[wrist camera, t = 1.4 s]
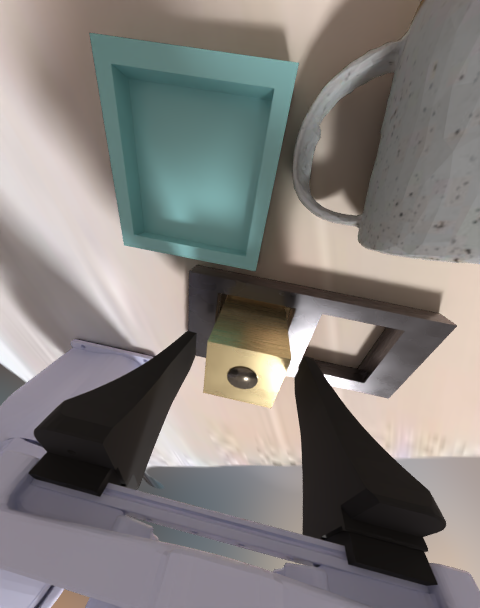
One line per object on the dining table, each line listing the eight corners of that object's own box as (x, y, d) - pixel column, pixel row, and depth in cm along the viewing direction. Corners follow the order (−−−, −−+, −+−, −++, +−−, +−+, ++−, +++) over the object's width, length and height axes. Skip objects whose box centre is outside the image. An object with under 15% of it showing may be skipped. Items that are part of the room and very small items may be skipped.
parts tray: (138, 240, 14) (124, 245, 13) (115, 56, 9) (89, 32, 8) (257, 263, 14) (255, 271, 12) (294, 83, 9) (298, 62, 8)
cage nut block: (223, 334, 17) (202, 393, 12) (229, 291, 15) (207, 342, 10) (271, 344, 17) (271, 409, 12) (284, 303, 15) (291, 360, 10)
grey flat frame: (193, 342, 18) (188, 353, 17) (196, 264, 14) (189, 271, 13) (379, 383, 18) (388, 398, 16) (439, 313, 13) (457, 325, 12)
